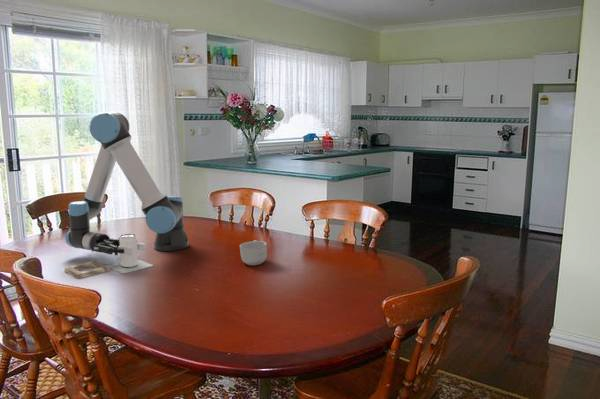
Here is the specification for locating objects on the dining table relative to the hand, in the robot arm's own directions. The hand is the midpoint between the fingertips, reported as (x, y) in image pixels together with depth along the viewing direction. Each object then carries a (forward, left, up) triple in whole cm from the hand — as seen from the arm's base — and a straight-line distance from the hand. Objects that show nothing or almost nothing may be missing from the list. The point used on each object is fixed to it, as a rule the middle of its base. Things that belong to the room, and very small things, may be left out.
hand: (138, 249), depth 192 cm
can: (+1, -5, -7) cm, 9 cm away
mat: (+1, -5, -8) cm, 9 cm away
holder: (+15, -12, -8) cm, 21 cm away
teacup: (-36, +27, -8) cm, 46 cm away
